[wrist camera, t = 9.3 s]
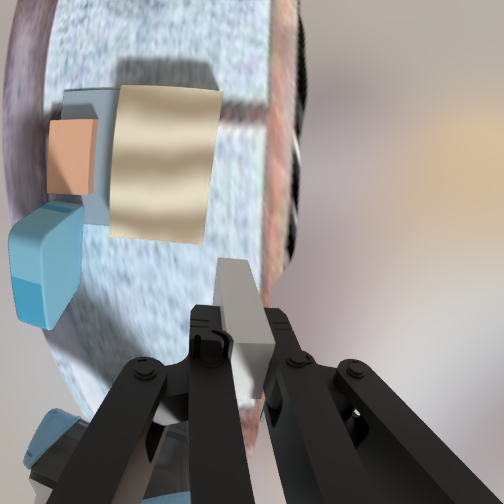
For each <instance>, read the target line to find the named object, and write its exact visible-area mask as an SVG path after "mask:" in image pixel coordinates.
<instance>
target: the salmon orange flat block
mask: <svg viewBox="0 0 504 504" xmlns="http://www.w3.org/2000/svg"><path fill="white" fill-rule="evenodd" d="M98 122H99V119H72V120H51V121H50V130H49V142H48V160H47V193H49V194H72V195H89V194H91V193H93V192H94V168H95V153H96V142H97V131H98Z"/></svg>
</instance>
